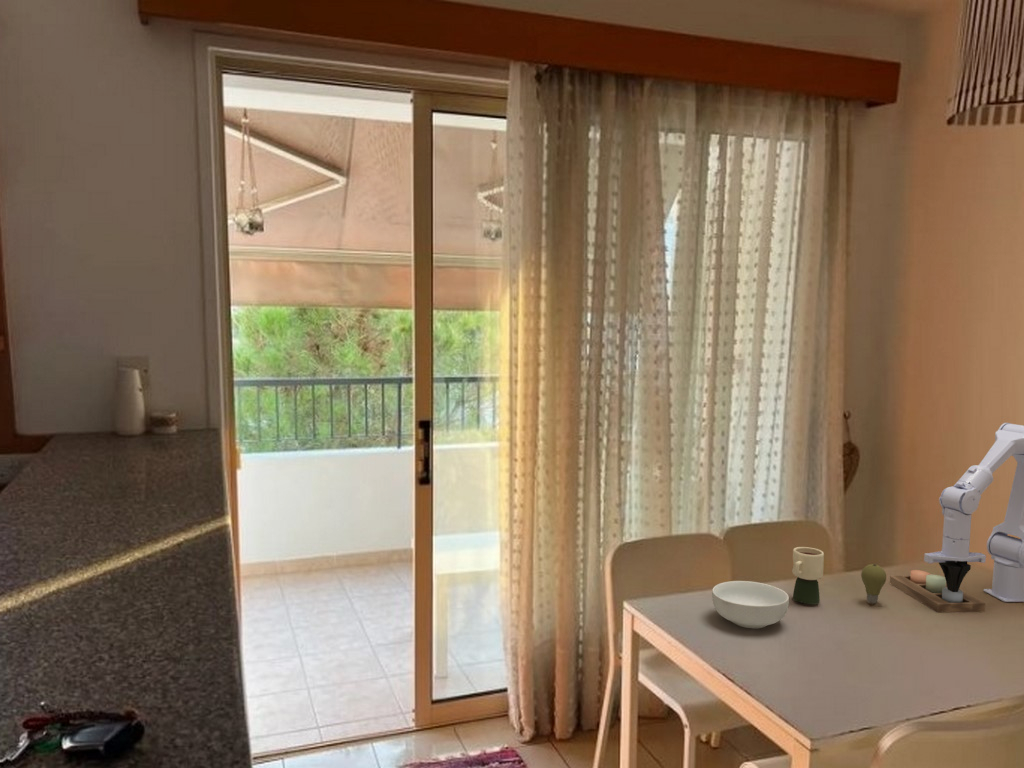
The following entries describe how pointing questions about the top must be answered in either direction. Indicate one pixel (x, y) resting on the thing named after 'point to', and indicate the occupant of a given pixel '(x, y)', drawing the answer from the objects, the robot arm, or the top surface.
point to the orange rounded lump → (918, 576)
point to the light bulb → (873, 581)
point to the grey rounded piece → (952, 596)
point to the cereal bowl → (750, 603)
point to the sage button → (935, 583)
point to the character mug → (807, 574)
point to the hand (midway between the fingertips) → (952, 590)
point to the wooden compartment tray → (936, 597)
